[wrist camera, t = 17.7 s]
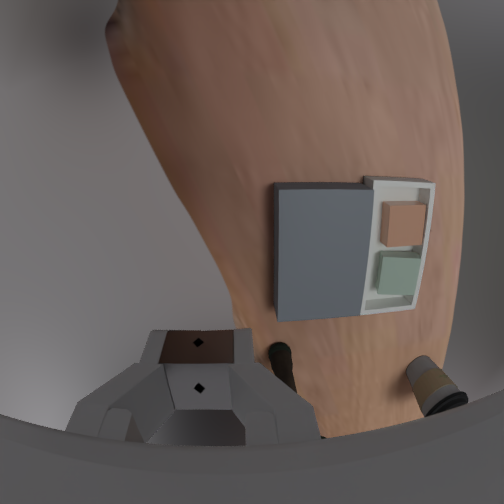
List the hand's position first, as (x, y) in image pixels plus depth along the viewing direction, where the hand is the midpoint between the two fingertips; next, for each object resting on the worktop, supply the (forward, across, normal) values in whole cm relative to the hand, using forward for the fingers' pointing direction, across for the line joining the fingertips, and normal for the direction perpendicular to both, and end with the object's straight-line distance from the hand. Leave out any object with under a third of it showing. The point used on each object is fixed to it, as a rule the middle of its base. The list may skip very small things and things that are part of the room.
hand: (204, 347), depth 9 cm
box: (+34, -24, +10) cm, 43 cm away
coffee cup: (+34, -36, +37) cm, 62 cm away
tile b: (+30, -24, +14) cm, 41 cm away
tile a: (+31, -24, +6) cm, 40 cm away
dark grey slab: (+34, -12, +10) cm, 37 cm away
